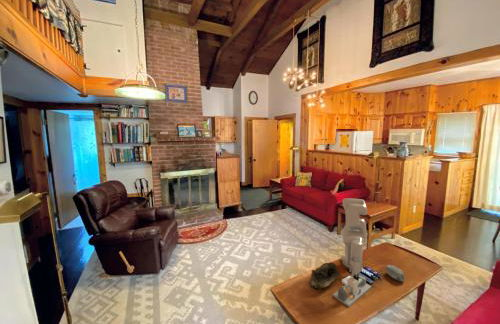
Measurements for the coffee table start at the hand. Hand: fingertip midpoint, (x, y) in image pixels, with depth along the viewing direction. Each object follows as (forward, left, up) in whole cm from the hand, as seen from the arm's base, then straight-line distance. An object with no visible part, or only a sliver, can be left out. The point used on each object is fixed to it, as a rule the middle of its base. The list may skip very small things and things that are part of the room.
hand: (355, 280), depth 150 cm
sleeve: (0, -5, -5) cm, 7 cm away
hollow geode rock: (-18, -12, -8) cm, 23 cm away
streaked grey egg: (+11, +38, -8) cm, 40 cm away
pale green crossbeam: (0, -4, -4) cm, 6 cm away
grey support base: (0, -4, -7) cm, 8 cm away
